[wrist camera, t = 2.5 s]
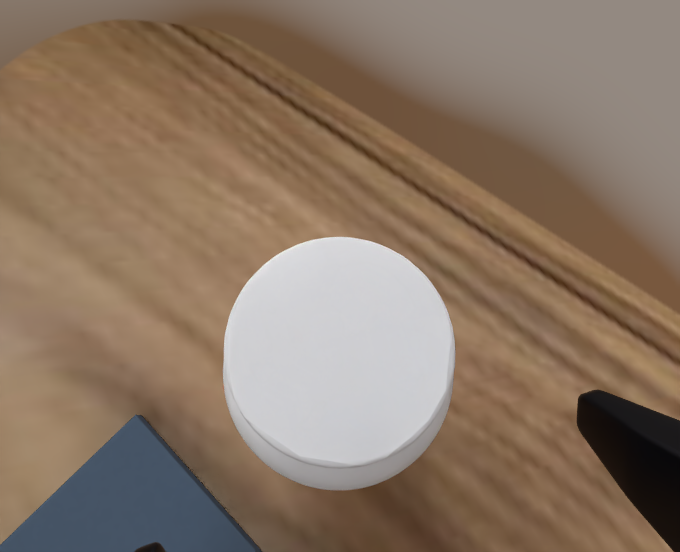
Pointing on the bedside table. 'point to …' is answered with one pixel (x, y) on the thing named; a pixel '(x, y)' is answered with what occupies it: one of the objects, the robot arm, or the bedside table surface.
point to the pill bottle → (338, 363)
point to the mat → (131, 504)
